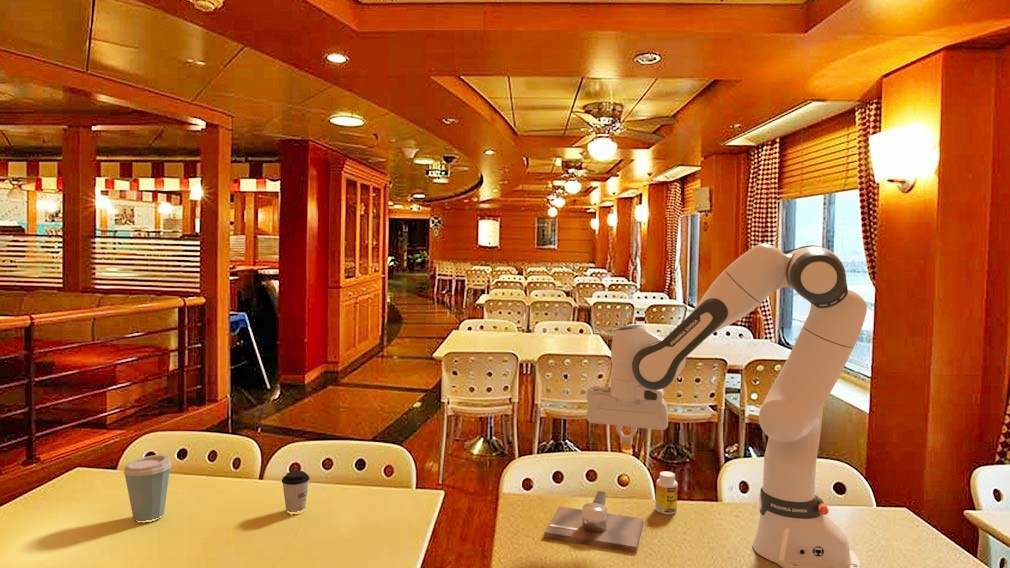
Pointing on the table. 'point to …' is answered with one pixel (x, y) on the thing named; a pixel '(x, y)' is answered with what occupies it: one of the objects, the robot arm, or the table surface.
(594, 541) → the lock base
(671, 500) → the supplement bottle
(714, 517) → the table surface
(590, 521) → the lever handle
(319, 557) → the table surface
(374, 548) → the table surface
